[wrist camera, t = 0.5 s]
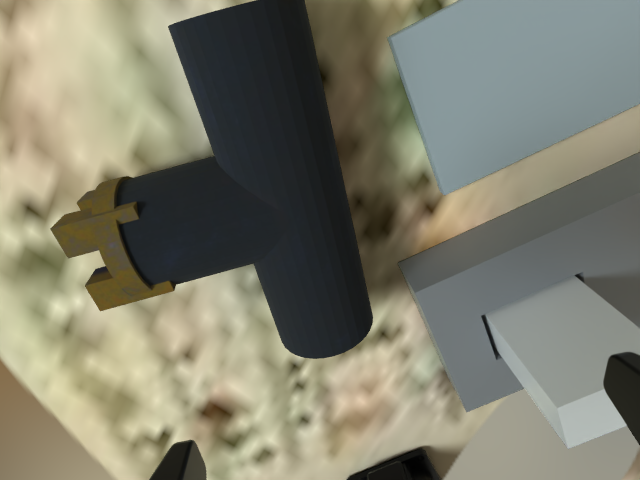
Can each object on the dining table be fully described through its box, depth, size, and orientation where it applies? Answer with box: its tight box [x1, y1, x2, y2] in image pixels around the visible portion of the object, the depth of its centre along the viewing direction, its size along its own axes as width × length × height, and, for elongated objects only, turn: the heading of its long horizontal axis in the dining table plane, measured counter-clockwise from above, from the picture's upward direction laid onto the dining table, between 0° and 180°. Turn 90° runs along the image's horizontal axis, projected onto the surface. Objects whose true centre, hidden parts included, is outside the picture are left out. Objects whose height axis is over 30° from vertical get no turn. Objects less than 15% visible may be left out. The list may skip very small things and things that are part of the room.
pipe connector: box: [51, 0, 373, 359], centre depth 19 cm, size 12×5×15 cm
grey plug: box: [481, 276, 640, 449], centre depth 22 cm, size 3×5×9 cm, turn 115°
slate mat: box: [387, 0, 640, 195], centre depth 19 cm, size 8×11×1 cm
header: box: [398, 152, 640, 412], centre depth 24 cm, size 10×22×3 cm, turn 115°
